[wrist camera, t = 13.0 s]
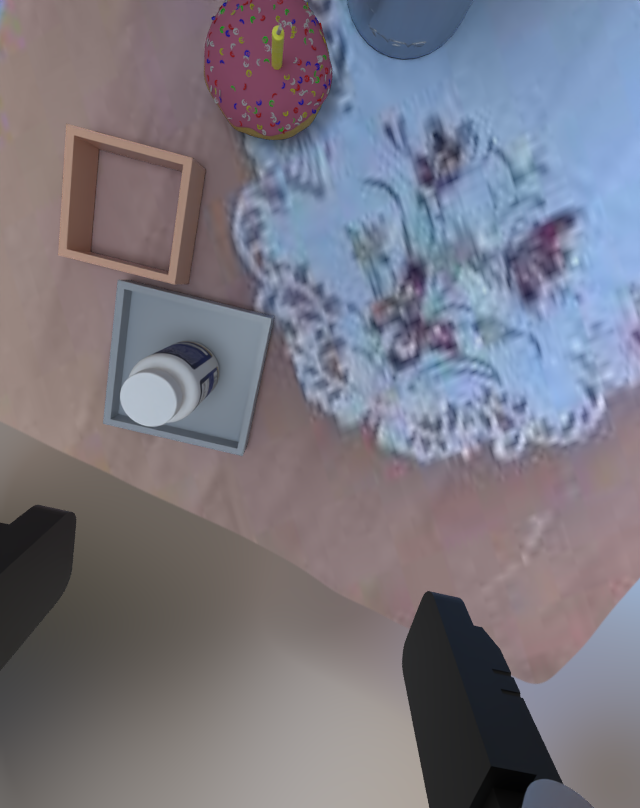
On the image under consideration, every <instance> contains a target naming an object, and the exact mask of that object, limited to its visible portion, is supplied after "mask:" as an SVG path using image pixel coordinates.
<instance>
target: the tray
mask: <svg viewBox="0 0 640 808" xmlns="http://www.w3.org/2000/svg"><path fill="white" fill-rule="evenodd" d="M273 321H274V316H271V315H267V314H263V313H259V312H255V311H251V310H247V309H243V308H239V307H235V306H231V305H227V304H224V303H220V302H216V301H212V300H208V299H204V298H200V297H196V296H192V295H188V294H184V293H180V292H176V291H172V290H168V289H164V288H160V287H156V286H152V285H148V284H144V283H140V282H136V281H132V280H118V283H117V293H116V303H115V313H114V323H113V332H112V342H111V352H110V362H109V371H108V381H107V391H106V401H105V410H104V420H103V424H107V425H111V426H115V427H120V428H124V429H128V430H133V431H137V432H141V433H146V434H150V435H154V436H159V437H163V438H167V439H171V440H176V441H180V442H184V443H189V444H193V445H197V446H202V447H206V448H210V449H215V450H219V451H223V452H228V453H232V454H236V455H241V456H243V454H244V452H245V450H246V447H247V443H248V438H249V434H250V429H251V424H252V419H253V415H254V410H255V405H256V401H257V396H258V391H259V387H260V382H261V377H262V373H263V368H264V363H265V358H266V354H267V349H268V344H269V340H270V335H271V330H272V326H273ZM182 341H193V342H197V343H199V344H201V345H203V346H205V347H206V348H207V349H209V350H210V351H211V352H212V354H213V355H214V356H215V358H216V360H217V362H218V366H219V379H218V382H217V385H216V386H215V388H214V389H213V391H212V392H211V393H210V394H209V395H208V396H207V397H206V398H205V399H204V400H203V401H202V402H201V403H200V404H199V405H198V406H197V407H196V408H195V410H194V411H193V412H191V413H190V414H189V415H188V416H187V417H185V418H183V419H181V420H179V421H176V422H170V423H165V424H163V425H160V426H155V427H150V426H144V425H141V424H139V423H137V422H135V421H134V420H132V419H131V418H130V417H129V416H128V415H127V414H126V413H125V411H124V409H123V407H122V405H121V401H120V392H121V388H122V386H123V384H124V382H125V381H126V380H127V379H128V378H129V375H130V373H131V371H132V369H133V368H134V366H135V365H136V364H137V363H138V362H139V361H141V360H142V359H144V358H145V357H147V356H149V355H151V354H153V353H156V352H158V351H160V350H162V349H164V348H166V347H168V346H170V345H172V344H175V343H178V342H182Z"/></svg>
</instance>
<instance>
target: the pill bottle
mask: <svg viewBox="0 0 640 808" xmlns="http://www.w3.org/2000/svg"><path fill="white" fill-rule="evenodd" d="M218 379H219V366H218V362H217V360H216V358H215V356H214V355H213V354H212V352H211V351H210V350H209V349H207V348H206V347H205V346H203V345H201V344H199V343H197V342H193V341H182V342H178V343H175V344H172V345H170V346H168V347H166V348H164V349H162V350H160V351H158V352H156V353H153V354H151V355H149V356H147V357H145V358H144V359H142V360H141V361H139V362H138V363H137V364H136V365H135V366H134V368H133V369H132V371H131V373H130V375H129V378H128V379H127V380H126V381H125V382H124V384H123V386H122V388H121V392H120V401H121V405H122V407H123V409H124V411H125V413H126V414H127V415H128V416H129V417H130V418H131V419H132V420H134V421H135V422H137V423H139V424H141V425H144V426H150V427H155V426H160V425H163V424H165V423H170V422H176V421H179V420H181V419H183V418H185V417H187V416H188V415H189V414H190V413H191V412H193V411H194V410H195V408H196V407H197V406H198V405H199V404H200V403H201V402H202V401H203V400H204V399H205V398H206V397H207V396H208V395H209V394H210V393H211V392H212V391H213V389H214V388H215V386H216V385H217V382H218Z"/></svg>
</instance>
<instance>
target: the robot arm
mask: <svg viewBox="0 0 640 808" xmlns="http://www.w3.org/2000/svg"><path fill="white" fill-rule="evenodd" d="M472 1H473V0H347V3H348V7H349V10H350V14H351V17H352V20H353V22H354V24H355V25H356V27H357V29H358V31H359V33H360V34H361V35H362V36H363V38H364V39H365V40H366V41H367V42H368V44H370V45H371V46H372V47H374V48H375V49H376V50H377V51H379V52H381V53H383V54H385V55H388V56H390V57H394V58H401V59H409V58H418V57H420V56H423V55H426V54H429V53H431V52H432V51H434V50H436V49H437V48H439V47H440V46H442V45H443V44H444V43H445V42H446V41H447V40H448V39H449V38H450V37H451V36H452V35H453V33H454V32H455V31H456V29H457V28H458V26H459V25H460V24H461V22H462V20H463V18H464V16H465V14H466V12H467V11H468V9H469V7H470V5H471V3H472ZM75 529H76V516H75V514H74V513H73V512H69V511H64V510H60V509H55V508H50V507H45V506H41V505H35V506H33V507H31V508H30V509H29V510H27V511H26V512H25V513H24V514H22V515H21V516H20V517H18V518H17V519H16V520H15V521H13V522H12V523H11V524H4V523H0V670H1V669H2V668H3V667H4V666H5V664H6V663H7V662H8V661H9V660H10V658H11V657H12V656H13V655H14V654H15V652H16V651H17V650H18V649H19V647H20V646H21V645H22V644H23V643H24V641H25V640H26V639H27V638H28V637H29V635H30V634H31V633H32V632H33V631H34V629H35V628H36V627H37V626H38V625H39V623H40V622H41V621H42V620H43V618H44V617H45V616H46V615H47V613H48V612H49V611H50V610H51V609H52V608H53V606H54V605H55V604H56V603H57V601H58V600H59V599H60V597H61V596H62V594H63V592H64V591H65V589H66V586H67V584H68V582H69V579H70V575H71V572H72V563H73V552H74V540H75ZM402 668H403V675H404V680H405V685H406V690H407V696H408V701H409V706H410V711H411V716H412V721H413V727H414V732H415V737H416V741H417V747H418V752H419V757H420V762H421V768H422V772H423V777H424V783H425V788H426V793H427V798H428V803H429V808H594V807H593V806H592V805H591V804H590V803H589V802H588V801H587V800H585V799H584V798H583V797H582V796H581V795H579V794H578V793H577V792H575V791H574V790H572V789H571V788H569V787H567V786H566V785H564V784H563V783H562V780H561V778H560V776H559V774H558V772H557V770H556V768H555V766H554V763H553V761H552V759H551V757H550V755H549V753H548V751H547V749H546V746H545V744H544V742H543V740H542V738H541V736H540V734H539V731H538V730H537V727H536V725H535V723H534V721H533V719H532V717H531V714H530V712H529V710H528V708H527V706H526V704H525V701H524V699H523V698H521V697H520V691H519V689H518V687H517V684H516V682H515V680H514V678H513V677H511V672H510V669H509V667H508V665H507V663H506V661H505V659H504V657H503V654H502V652H501V650H500V648H499V647H498V646H497V645H496V644H495V642H494V641H493V640H492V639H491V638H490V637H489V635H488V634H487V633H486V632H485V631H484V629H483V628H482V627H478V626H474V625H473V623H472V621H471V618H470V616H469V614H468V611H467V609H466V606H465V604H464V602H463V601H462V599H460V598H458V597H453V596H448V595H444V594H439V593H435V592H430V591H427V592H426V593H425V594H424V595H423V597H422V600H421V602H420V605H419V607H418V610H417V612H416V615H415V618H414V620H413V623H412V625H411V628H410V630H409V633H408V636H407V638H406V641H405V644H404V649H403V658H402Z"/></svg>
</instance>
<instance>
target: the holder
mask: <svg viewBox="0 0 640 808" xmlns="http://www.w3.org/2000/svg"><path fill="white" fill-rule="evenodd" d="M99 149H100V150H104V151H107V152H111V153H115V154H118V155H122V156H126V157H130V158H133V159H137V160H141V161H144V162H148V163H152V164H156V165H159V166H163V167H167V168H170V169H174V170H178V171H181V172H182V178H181V185H180V192H179V200H178V207H177V214H176V222H175V229H174V237H173V244H172V251H171V259H170V266H169V272H168V271H164V270H160V269H156V268H152V267H148V266H144V265H141V264H137V263H133V262H129V261H125V260H121V259H117V258H113V257H109V256H105V255H101V254H97V253H93V252H91V241H92V229H93V217H94V205H95V193H96V181H97V169H98V156H99ZM205 171H206V170H205V169H204V168H203V167H202V166H201V165H200V164H199V163H198V162H196V161H195V160H194V159H193V158H191V157H187V156H183V155H180V154H176V153H172V152H169V151H165V150H161V149H158V148H154V147H150V146H147V145H143V144H139V143H136V142H132V141H128V140H124V139H121V138H117V137H113V136H110V135H106V134H102V133H99V132H95V131H91V130H88V129H84V128H80V127H77V126H73V125H69V124H66V137H65V154H64V170H63V186H62V203H61V219H60V235H59V251H58V255H60V256H64V257H68V258H71V259H75V260H79V261H83V262H87V263H91V264H95V265H99V266H103V267H107V268H111V269H115V270H119V271H123V272H127V273H131V274H135V275H139V276H142V277H146V278H150V279H154V280H158V281H162V282H166V283H170V284H174V285H178V284H189V277H190V271H191V264H192V257H193V251H194V244H195V237H196V231H197V224H198V217H199V211H200V204H201V197H202V191H203V184H204V177H205Z"/></svg>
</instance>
